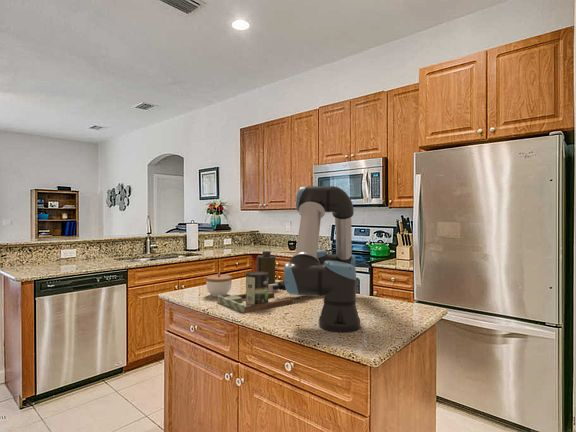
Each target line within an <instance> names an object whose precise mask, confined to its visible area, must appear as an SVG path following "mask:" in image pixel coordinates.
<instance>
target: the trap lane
mask: <svg viewBox="0 0 576 432" xmlns="http://www.w3.org/2000/svg"><path fill="white" fill-rule="evenodd" d="M270 298H275V292H273V291H268V299H270ZM243 302H246V293H240V294H236V295H235V294H234V295H226V296H223V297H222V296H218V297H217V303H218V304H220V305H223V306H226V307H227V308H231V309H233V310H234V311H237V312H239V313H243V314H244V313H248V312H253V311H254V312H255V311H260V310H264V309H269V308H275V307H281V306H285V305H291V304H294V298H291V297H290V298H285V299H279V300H272V301H268V302H267V303H261V304H256V305H250V306H247V305H246V306H245V304H242V303H243Z"/></svg>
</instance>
